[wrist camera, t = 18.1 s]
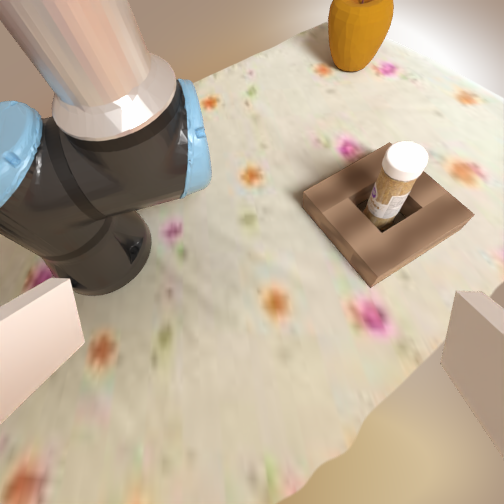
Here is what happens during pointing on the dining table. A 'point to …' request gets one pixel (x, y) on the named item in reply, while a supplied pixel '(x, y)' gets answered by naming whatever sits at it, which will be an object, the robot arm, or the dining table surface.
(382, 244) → the frame
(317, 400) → the dining table surface
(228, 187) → the dining table surface
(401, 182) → the sprinkles bottle
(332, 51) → the apple
